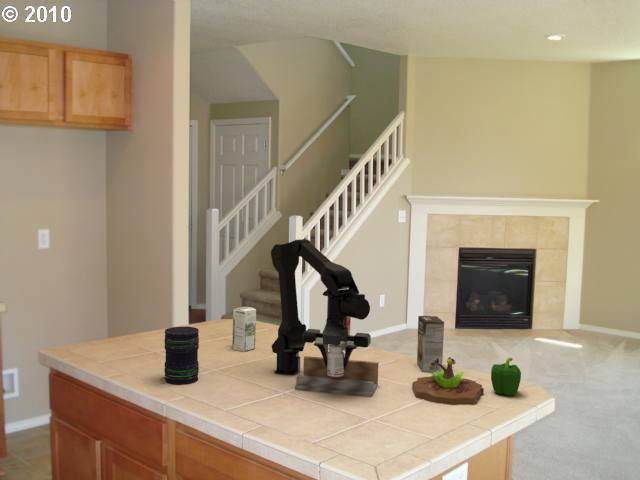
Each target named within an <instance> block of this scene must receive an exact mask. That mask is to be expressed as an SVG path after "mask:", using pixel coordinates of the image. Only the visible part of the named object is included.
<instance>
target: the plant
mask: <svg viewBox="0 0 640 480" xmlns="http://www.w3.org/2000/svg"><path fill="white" fill-rule="evenodd" d="M456 362H457V361H456V359H454V358H452V357H451V356H449V357H448V358H447V359H446V363H447V367H445V366H444V365H443V364H442V365H441V364H440V363H437V362H432V363H430V364H429V366H430V367H431V368H432V367H433V366H434V364H436V365H439V366H440V367H441V368H442V370H441V372H439V371H436V372H429V373H430V375H431V376H422V377H417V379H416V380H415V381H413V382H412V383H411V384H412V386H411V390H412V392H413V394H414V397H415V398H416V399H418V398H419V399H420V400H423V399H424V400H423V401H427V402H430V403H434V402H435V404H441V403H442V404H443V405H451V406H456V405H470V406H475V405H476V404H478V401H479V400H480V398H481V396H484V393H485V391H484V390H485V389H484V388H483V386H482V384H480V383H477V381H475V380H472V379H469V378H465V377H463V375H464V374H465V373H464V372H465V371H461V372H457V373H456V374H454V370H453V365H455V364H456ZM436 373H437V374H436ZM419 399H418V400H419Z"/></svg>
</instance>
